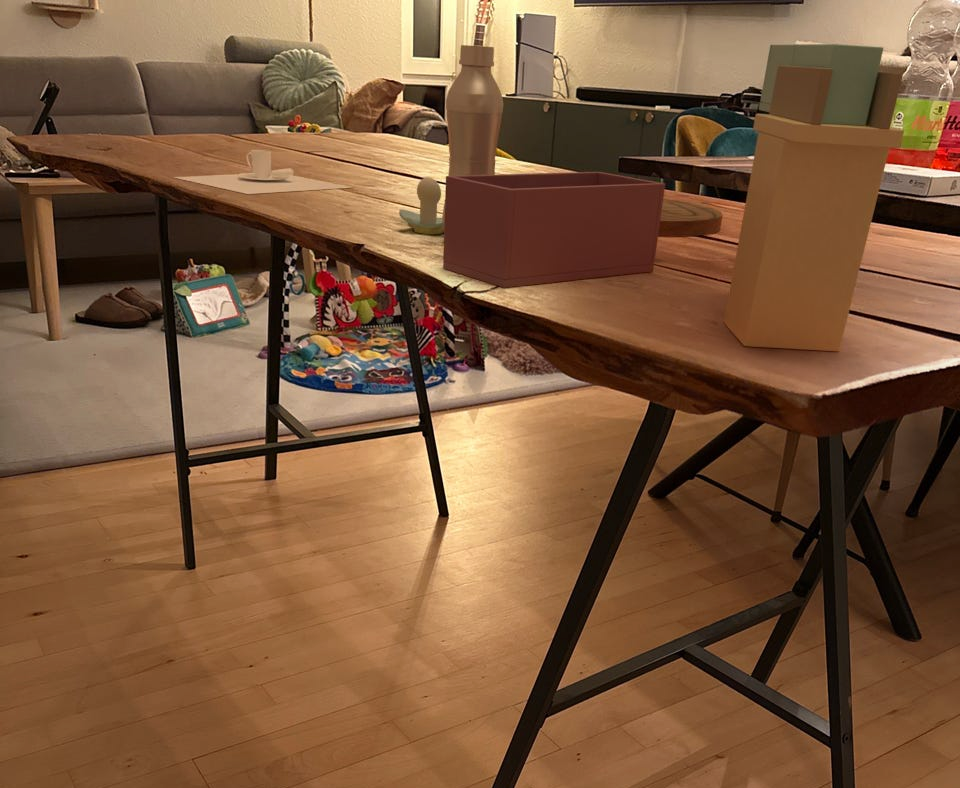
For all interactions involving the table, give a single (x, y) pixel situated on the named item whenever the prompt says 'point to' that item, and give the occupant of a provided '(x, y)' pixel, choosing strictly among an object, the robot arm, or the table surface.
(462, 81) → the plastic bottle
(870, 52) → the pale green box
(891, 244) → the table surface
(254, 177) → the teacup and saucer
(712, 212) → the trivet
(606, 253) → the open storage box
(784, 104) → the tan trash bin
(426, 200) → the pacifier
